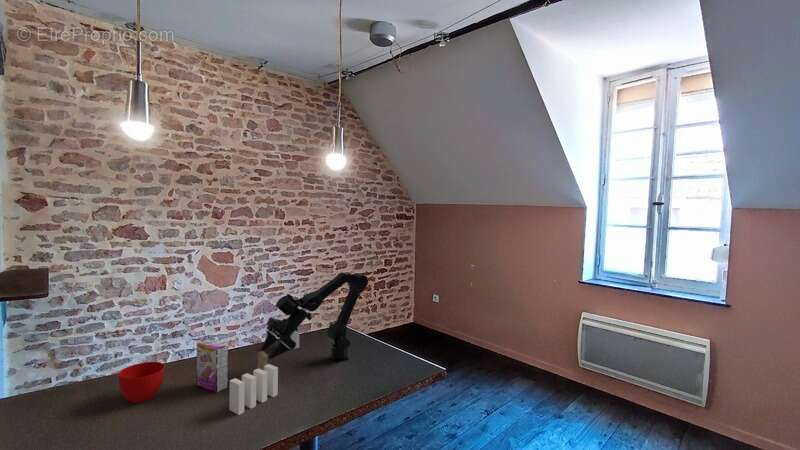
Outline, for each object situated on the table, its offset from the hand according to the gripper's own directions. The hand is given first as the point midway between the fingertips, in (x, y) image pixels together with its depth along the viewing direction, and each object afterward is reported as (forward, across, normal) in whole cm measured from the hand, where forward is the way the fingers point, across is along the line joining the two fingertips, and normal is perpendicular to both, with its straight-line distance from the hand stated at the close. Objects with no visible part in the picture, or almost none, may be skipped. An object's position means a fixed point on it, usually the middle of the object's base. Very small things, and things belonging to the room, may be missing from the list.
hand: (265, 354), depth 143 cm
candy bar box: (+20, -4, -6) cm, 21 cm away
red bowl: (+35, -11, -20) cm, 42 cm away
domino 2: (+14, +16, -1) cm, 21 cm away
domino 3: (+7, 0, +6) cm, 10 cm away
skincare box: (-8, -24, +22) cm, 33 cm away
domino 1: (+17, +17, -4) cm, 25 cm away
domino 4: (+11, +14, +2) cm, 18 cm away
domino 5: (+8, +13, +5) cm, 16 cm away
